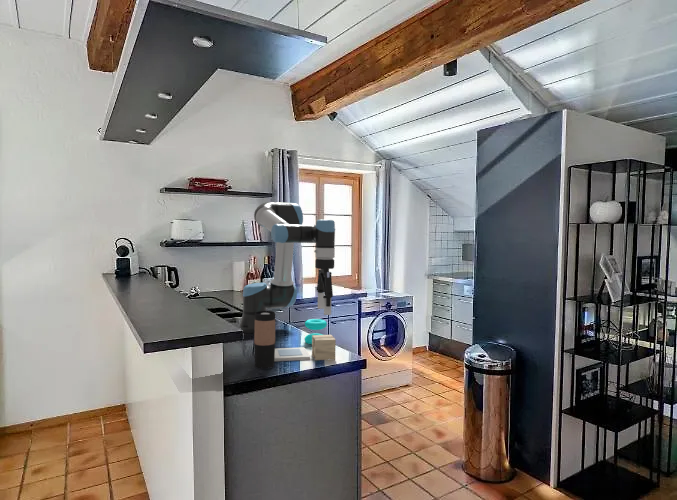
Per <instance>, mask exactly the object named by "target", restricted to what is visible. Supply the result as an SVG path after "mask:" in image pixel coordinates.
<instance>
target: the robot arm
mask: <svg viewBox="0 0 677 500" xmlns="http://www.w3.org/2000/svg"><path fill="white" fill-rule="evenodd" d="M253 213H254V214H253V218H254V220H255V222H256V224H257V225H258V226H260V227H262V228H266V229H267V230H268V231H269V232H270V235H271V239H272V241H273V243H276V248H275V259H274V261H275V262H274V275H273V279H271V280H270V284H269V285H268V284H267V283H266V282H255V283H249V284H246V285H244V287H243V289H242V290H243V291H242V316H241V320H240V323H239V326H238V329H239V328H241V329H242V330H243V332H242V333H246V334H255V312H258V311H267V310H268V309H279V308H280V309H281V308H283V309H285V308H290V307H292V306H293V305H294V304H295V303H296V300H297V298H298V297H297V296H298V291H297V290H298V289H297V286H296V285H295V284H294V283H295V282H294V281H293V280H292V270H293V269H292V268H293V258H294V256H293V255H294V244H296V243H297V244H315V249H314V250H313V252H314V253H315V258H316V259H315V268H316V269H317V270H318V274H317V282H316V283H317V285H316V292H317V309H318V310H321V309H322V310H323V315H324V316H331V315H332V298H333V297H334V294H333V293H334V292H333V282H332V272H331V271H330V270H333V269H335V259H334V258H336V257H335V251H336V250H335V245H336V244H335V242H336V226H335V225H336V222H335V221H334V220H333V219H317V220H316V222H315V224H303V223H304V215H303V214H304V213H303V209H302V207H301V205H299V204H298V203H294V202H277V201H274V202H273V201H267V202H264V203H261V204H259V205H258V206H257V207H256V209H254V212H253Z"/></svg>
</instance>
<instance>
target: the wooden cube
mask: <svg viewBox="0 0 677 500" xmlns="http://www.w3.org/2000/svg"><path fill="white" fill-rule="evenodd" d="M336 340H337V339H336V338H335V337H334V336H333V335H332V334H322V335H312V344H311V356H312V357H313V359H314V361H329V360H328V359H332V360H336V348H337V347H336V345H337V343H336V342H337V341H336Z"/></svg>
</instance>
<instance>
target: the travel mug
mask: <svg viewBox="0 0 677 500" xmlns="http://www.w3.org/2000/svg"><path fill="white" fill-rule="evenodd" d="M253 335H254V340H253V341H254V344H253V345H254V346H253V348H254V350H253V351H254V367H255V368H257V369H261V370H263V369H264V370H265V369H267V370H268V369H272V368H274V367H275V361H274V358H275V349H276V312H275V311H273V310H266V311H258V312H255V333H253Z"/></svg>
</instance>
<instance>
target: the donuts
mask: <svg viewBox="0 0 677 500" xmlns="http://www.w3.org/2000/svg"><path fill="white" fill-rule="evenodd" d="M327 325H328V323H327V320H324V319H320V318H310V319H307V320H306V321H304V326H305V327H306V328H307V329H308V330H313V331H317V330H319V331H320V330H323V329H325V328H326V327H327ZM312 335H323V334H322V333H309V334H307V335H306V336H305V337H304V342H305V343H306V344H308V345H312Z"/></svg>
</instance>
